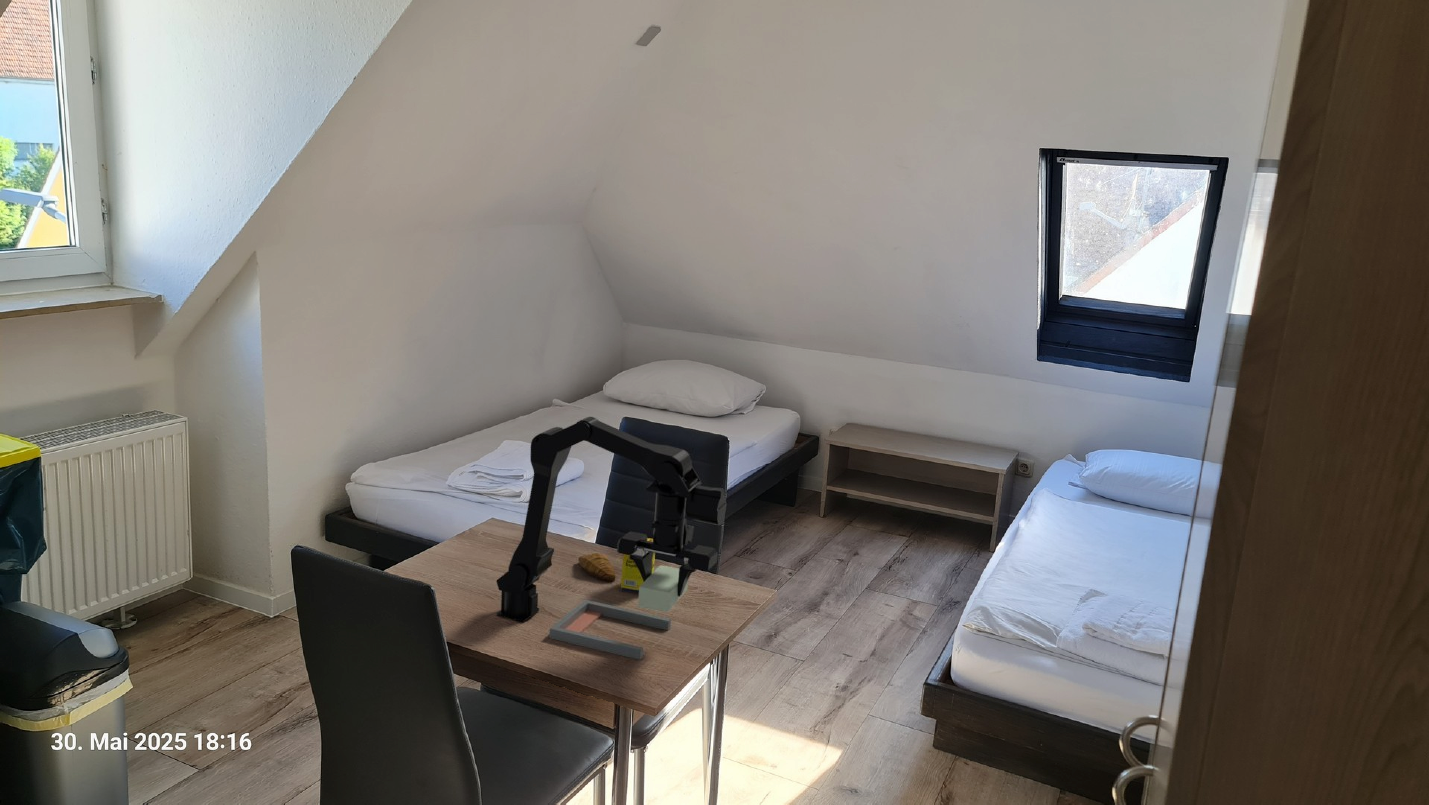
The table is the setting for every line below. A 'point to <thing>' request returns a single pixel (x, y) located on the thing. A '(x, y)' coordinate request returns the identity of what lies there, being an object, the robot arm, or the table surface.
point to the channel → (584, 617)
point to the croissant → (597, 566)
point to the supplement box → (632, 574)
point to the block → (660, 589)
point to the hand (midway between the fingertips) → (664, 592)
